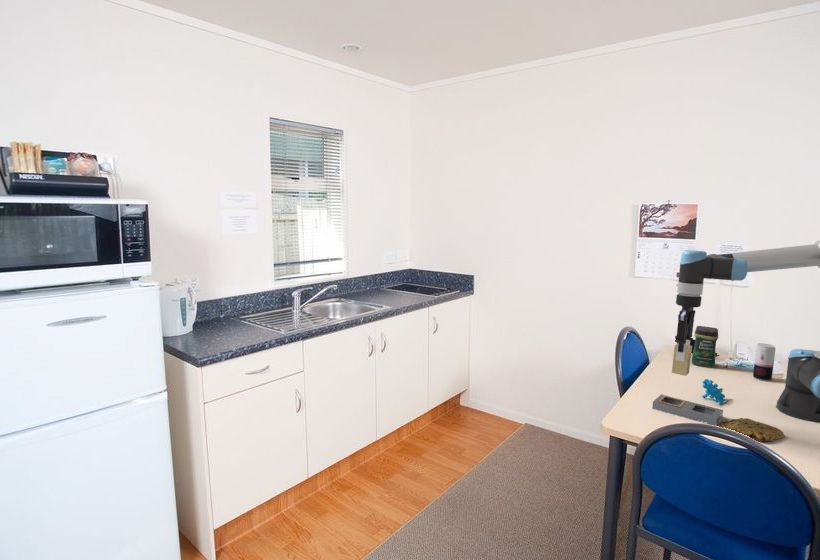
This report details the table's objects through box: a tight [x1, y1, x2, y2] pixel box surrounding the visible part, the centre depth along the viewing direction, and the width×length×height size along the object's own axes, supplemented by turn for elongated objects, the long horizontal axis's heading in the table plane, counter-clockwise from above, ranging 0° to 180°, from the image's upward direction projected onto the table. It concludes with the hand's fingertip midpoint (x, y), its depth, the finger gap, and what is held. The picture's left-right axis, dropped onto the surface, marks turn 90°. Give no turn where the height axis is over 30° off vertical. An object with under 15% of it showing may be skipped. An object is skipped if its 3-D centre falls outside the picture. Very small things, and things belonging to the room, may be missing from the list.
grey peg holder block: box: [652, 394, 724, 426], centre depth 167 cm, size 20×10×3 cm, turn 46°
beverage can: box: [752, 342, 777, 382], centre depth 202 cm, size 7×7×15 cm
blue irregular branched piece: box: [701, 378, 727, 405], centre depth 179 cm, size 11×6×10 cm
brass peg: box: [671, 343, 692, 377], centre depth 166 cm, size 4×4×10 cm
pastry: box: [720, 417, 785, 442], centre depth 153 cm, size 17×17×3 cm
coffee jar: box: [690, 325, 719, 368], centre depth 219 cm, size 10×8×19 cm
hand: (681, 358), depth 166 cm, fingers closed on brass peg, 4 cm apart
